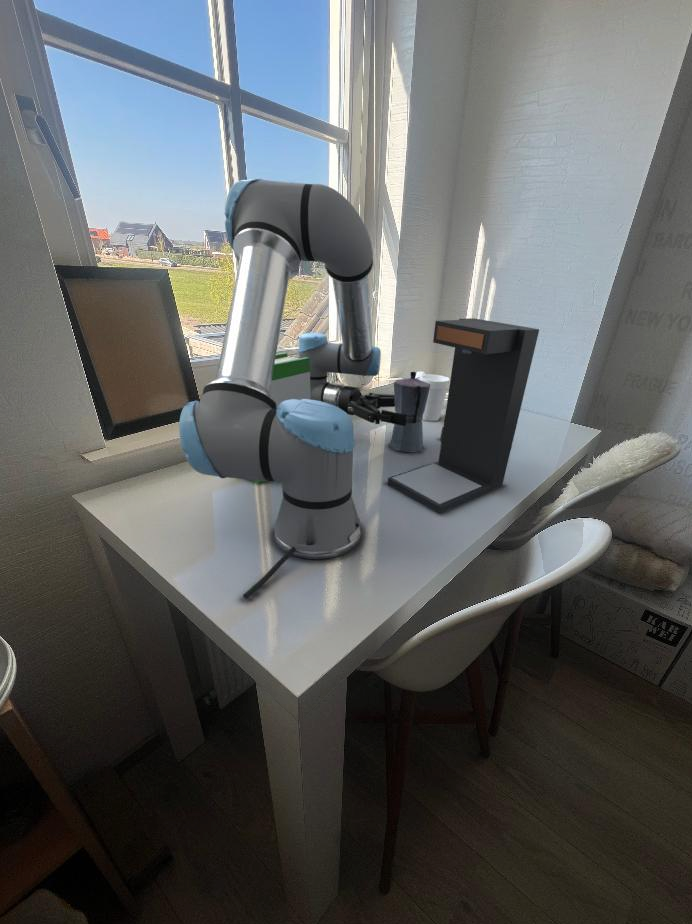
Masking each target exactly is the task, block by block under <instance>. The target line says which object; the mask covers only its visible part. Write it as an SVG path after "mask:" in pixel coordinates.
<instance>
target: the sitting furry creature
mask: <svg viewBox="0 0 692 924" xmlns="http://www.w3.org/2000/svg"><path fill="white" fill-rule="evenodd" d="M416 373H417V374H416V377H415V379H418V380H420V376H421V375H426V372H424V371H422V370H420V371H417V372H416Z"/></svg>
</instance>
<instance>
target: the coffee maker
mask: <svg viewBox="0 0 692 924" xmlns="http://www.w3.org/2000/svg"><path fill="white" fill-rule="evenodd" d="M539 334H540V329H539V328H535V327H528V326H523V325H522V326H521V325H517V324H512V323H504V322H499V321H493V320H486V319H481V318H474V317H473V318H459V319H448V320H447V319H446V320H445V319H444V320H443V319H442V320H435V322H434V331H433V339H432V343H434V344H438V345H442V346H447V347H450V348H454V353H453V359H452V365H451V373H450V378H449V387H448V394H447V400H446V408H445V415H444V422H443V426H444V427H443V426H442V428H443V434H442V440H441V441H440V448H439V456H438V460H437V461H433V462H431V463H428V464H424V465H422V466H419V467H416V468H412V469H410V470H407V471H403V472H401V473H398V474H395V475H392V476H388V477H387V485H389V486H390V487H392V488H394V489H396V490H397V491H399V492H400V493H403V494H405V495H406V496H408V497H410V498H411V499H413V500H415V501H418V502H419V503H421V504H422V505H424V506H426V507H428V508H429V509H431V510H432V511H435V512H436V513H438V514H442V513H444V512H447V511H449V510H451V509H453V508H455V507H458V506H459V505H463V504H464V503H467V502H469V501H471V500H474V499H476V498H478V497H481V496H483V495H485V494H487V493H490V492H491V491H493V490H497V489H499V488H500V487H503V485H504V480H505V477H506V472H507V468H508V465H509V464H508V463H509V459H510V455H511V451H512V448H513V447H512V446H513V443H514V438H515V434H516V431H517V426H518V421H519V417H520V413H521V408H522V405H523V401H524V396H525V392H526V387H527V383H528V379H529V375H530V371H531V367H532V362H533V358H534V354H535V350H536V346H537V342H538V337H539Z"/></svg>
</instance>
